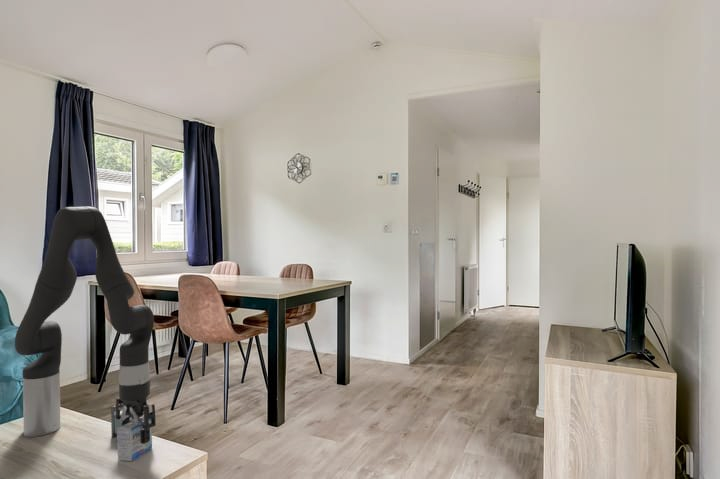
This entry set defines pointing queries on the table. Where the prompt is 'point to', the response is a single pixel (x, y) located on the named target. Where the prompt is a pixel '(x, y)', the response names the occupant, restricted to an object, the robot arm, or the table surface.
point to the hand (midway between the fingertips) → (135, 439)
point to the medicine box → (131, 441)
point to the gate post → (113, 421)
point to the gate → (117, 422)
